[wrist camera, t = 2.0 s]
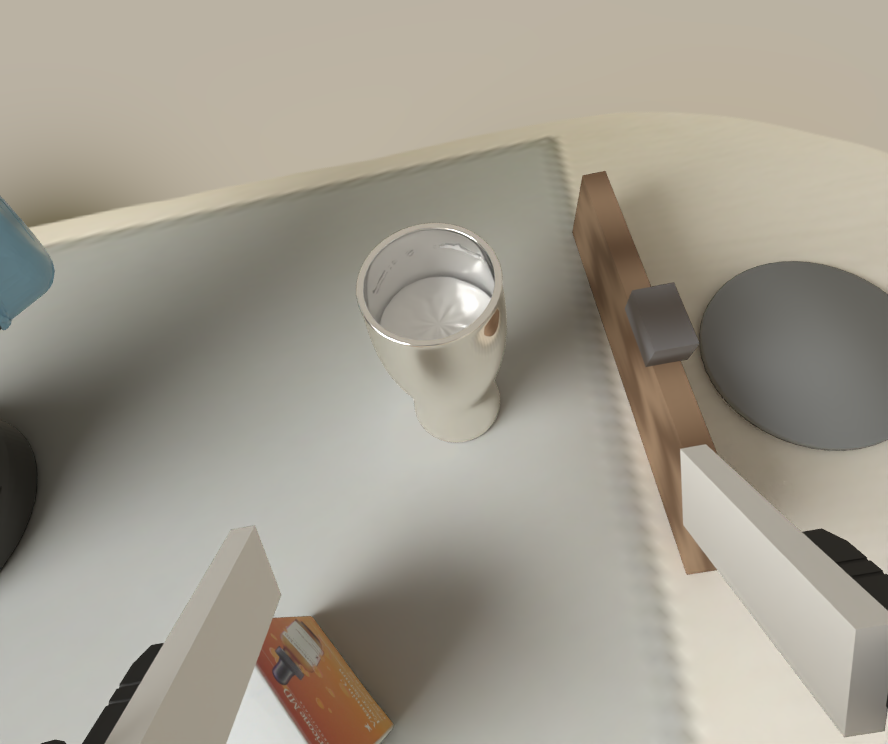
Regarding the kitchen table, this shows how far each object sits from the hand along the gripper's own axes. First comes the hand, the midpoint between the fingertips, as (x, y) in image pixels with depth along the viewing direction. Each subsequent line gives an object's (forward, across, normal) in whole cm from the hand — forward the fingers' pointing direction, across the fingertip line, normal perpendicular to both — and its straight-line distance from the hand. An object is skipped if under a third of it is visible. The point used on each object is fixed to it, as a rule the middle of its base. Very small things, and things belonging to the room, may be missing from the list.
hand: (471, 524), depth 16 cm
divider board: (+20, +12, -5) cm, 24 cm away
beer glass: (+20, 0, -5) cm, 21 cm away
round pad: (+19, +24, -5) cm, 31 cm away
